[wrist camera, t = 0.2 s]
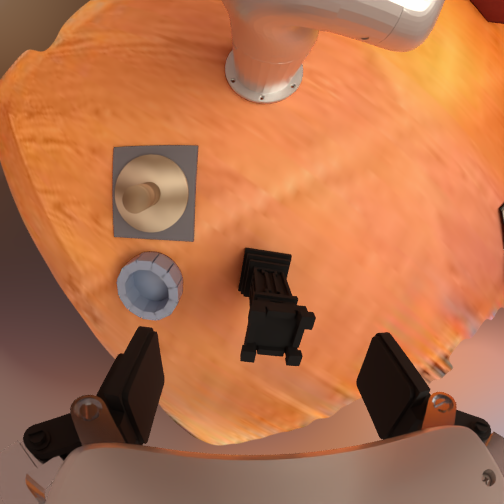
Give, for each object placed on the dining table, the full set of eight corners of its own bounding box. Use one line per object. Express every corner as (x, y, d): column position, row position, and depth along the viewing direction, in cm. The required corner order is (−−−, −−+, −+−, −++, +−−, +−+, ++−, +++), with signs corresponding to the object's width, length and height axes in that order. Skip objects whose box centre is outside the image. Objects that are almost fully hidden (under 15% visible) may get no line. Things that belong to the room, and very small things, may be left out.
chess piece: (245, 247, 47) (247, 306, 28) (291, 254, 48) (320, 315, 29) (238, 289, 50) (236, 363, 31) (281, 295, 50) (301, 368, 31)
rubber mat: (115, 147, 40) (113, 147, 40) (198, 145, 41) (197, 145, 41) (115, 236, 46) (114, 236, 45) (194, 240, 46) (193, 241, 46)
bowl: (125, 249, 46) (114, 258, 42) (183, 253, 47) (176, 263, 42) (130, 302, 50) (121, 315, 45) (184, 308, 51) (179, 322, 46)
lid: (118, 155, 40) (96, 156, 33) (191, 154, 41) (180, 153, 34) (118, 229, 45) (98, 241, 37) (187, 232, 45) (177, 246, 38)
